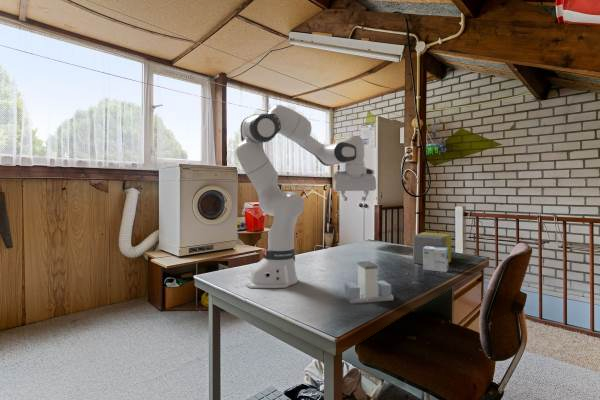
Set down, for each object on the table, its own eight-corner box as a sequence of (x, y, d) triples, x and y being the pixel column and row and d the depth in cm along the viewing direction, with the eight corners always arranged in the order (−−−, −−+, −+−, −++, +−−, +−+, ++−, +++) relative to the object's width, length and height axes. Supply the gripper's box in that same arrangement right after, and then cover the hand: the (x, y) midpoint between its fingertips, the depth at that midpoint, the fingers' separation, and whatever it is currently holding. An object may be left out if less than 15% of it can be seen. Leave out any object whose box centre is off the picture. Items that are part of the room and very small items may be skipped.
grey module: (365, 297, 109) (365, 266, 109) (357, 290, 116) (357, 261, 116) (377, 296, 110) (377, 265, 110) (369, 290, 117) (369, 261, 117)
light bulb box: (448, 269, 151) (448, 247, 151) (446, 272, 145) (446, 249, 145) (425, 266, 157) (425, 245, 156) (422, 269, 151) (422, 247, 151)
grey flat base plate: (351, 303, 107) (351, 299, 107) (342, 295, 116) (342, 291, 116) (393, 300, 111) (393, 295, 111) (382, 292, 119) (382, 288, 119)
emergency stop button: (455, 259, 172) (456, 232, 171) (442, 268, 154) (442, 238, 153) (428, 255, 182) (428, 230, 181) (412, 263, 163) (412, 235, 163)
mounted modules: (350, 298, 109) (350, 288, 109) (344, 292, 115) (344, 283, 114) (391, 294, 112) (391, 285, 112) (383, 289, 118) (383, 280, 117)
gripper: (335, 170, 140) (335, 201, 141) (377, 170, 144) (377, 200, 145) (331, 171, 146) (331, 200, 147) (371, 171, 150) (371, 200, 151)
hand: (354, 200), depth 146 cm, fingers open, 8 cm apart
